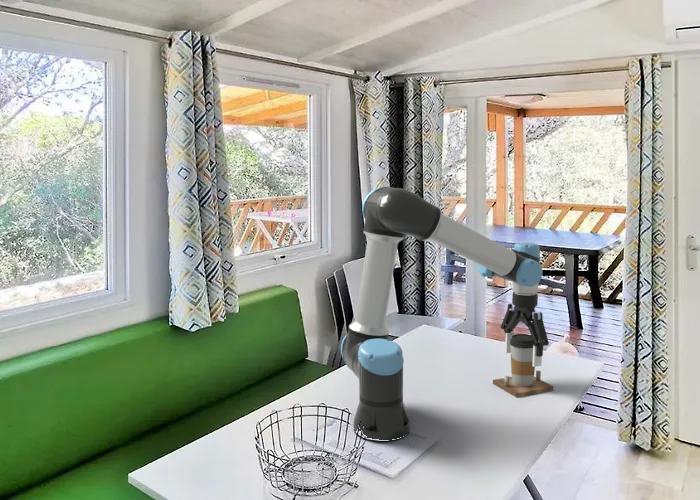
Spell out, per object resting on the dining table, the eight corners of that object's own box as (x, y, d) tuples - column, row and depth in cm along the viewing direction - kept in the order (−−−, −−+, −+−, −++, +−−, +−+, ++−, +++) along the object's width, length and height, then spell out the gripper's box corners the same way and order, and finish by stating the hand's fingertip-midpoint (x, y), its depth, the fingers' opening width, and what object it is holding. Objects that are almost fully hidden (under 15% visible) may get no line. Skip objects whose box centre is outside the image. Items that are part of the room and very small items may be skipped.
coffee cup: (537, 388, 176) (539, 341, 174) (509, 387, 178) (510, 340, 176) (534, 379, 184) (536, 333, 182) (507, 377, 186) (509, 332, 184)
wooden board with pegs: (516, 397, 173) (516, 384, 172) (492, 383, 184) (492, 371, 184) (553, 390, 178) (553, 377, 177) (528, 377, 189) (528, 364, 188)
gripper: (563, 300, 166) (559, 370, 169) (510, 284, 189) (508, 346, 192) (542, 302, 164) (539, 373, 167) (491, 286, 187) (489, 348, 190)
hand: (522, 359), depth 180 cm, fingers open, 13 cm apart
